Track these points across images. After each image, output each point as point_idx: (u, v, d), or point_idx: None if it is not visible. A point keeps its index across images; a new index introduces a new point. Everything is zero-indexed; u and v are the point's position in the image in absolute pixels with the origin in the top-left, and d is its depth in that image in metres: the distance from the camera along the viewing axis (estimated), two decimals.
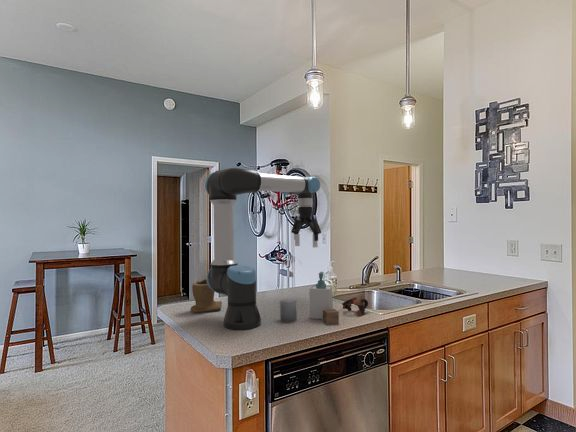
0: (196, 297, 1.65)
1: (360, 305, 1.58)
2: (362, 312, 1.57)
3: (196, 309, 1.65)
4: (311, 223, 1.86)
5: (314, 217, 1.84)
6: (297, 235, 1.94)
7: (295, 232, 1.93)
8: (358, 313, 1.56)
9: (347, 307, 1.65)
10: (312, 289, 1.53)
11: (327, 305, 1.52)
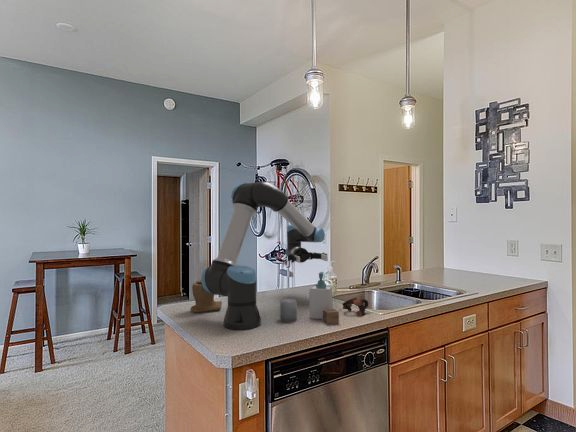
0: (196, 297, 1.65)
1: (360, 305, 1.57)
2: (362, 312, 1.57)
3: (196, 309, 1.65)
4: None
5: None
6: None
7: None
8: (358, 313, 1.56)
9: (347, 307, 1.64)
10: (312, 289, 1.53)
11: (327, 305, 1.52)
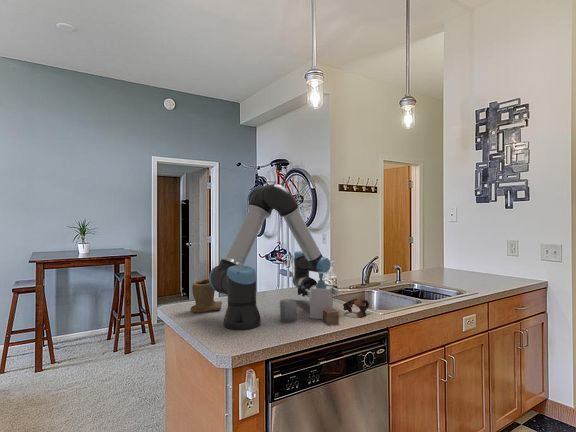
0: (196, 297, 1.65)
1: (361, 306, 1.56)
2: (363, 313, 1.55)
3: (196, 309, 1.65)
4: None
5: None
6: None
7: (305, 288, 1.59)
8: (359, 314, 1.54)
9: (348, 308, 1.63)
10: (312, 289, 1.53)
11: (327, 305, 1.52)
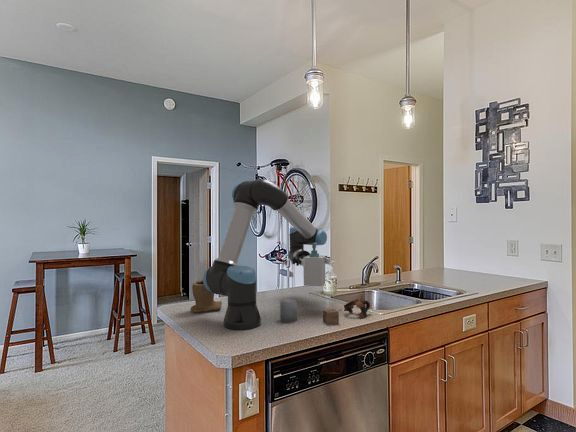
0: (196, 297, 1.65)
1: (362, 307, 1.54)
2: (364, 314, 1.53)
3: (196, 309, 1.65)
4: None
5: None
6: None
7: (299, 258, 1.68)
8: (360, 315, 1.52)
9: (348, 309, 1.61)
10: (306, 258, 1.62)
11: (319, 272, 1.60)
